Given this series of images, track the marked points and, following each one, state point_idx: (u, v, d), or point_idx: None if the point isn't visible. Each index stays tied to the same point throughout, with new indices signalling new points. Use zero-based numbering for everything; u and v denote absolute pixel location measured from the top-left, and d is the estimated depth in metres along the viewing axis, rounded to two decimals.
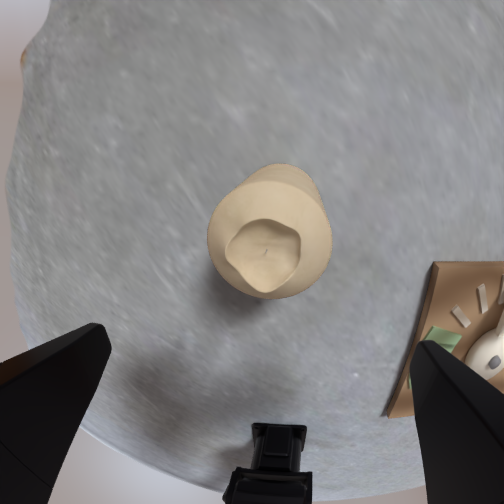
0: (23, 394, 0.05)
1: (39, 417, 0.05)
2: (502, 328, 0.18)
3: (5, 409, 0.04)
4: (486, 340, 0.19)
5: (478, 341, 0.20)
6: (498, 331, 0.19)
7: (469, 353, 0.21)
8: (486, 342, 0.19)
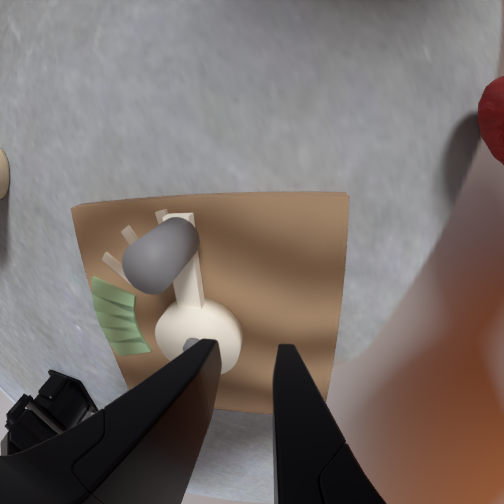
0: (147, 448, 0.04)
1: (165, 469, 0.04)
2: (177, 293, 0.18)
3: (132, 476, 0.03)
4: (167, 309, 0.19)
5: None
6: None
7: None
8: (165, 312, 0.19)
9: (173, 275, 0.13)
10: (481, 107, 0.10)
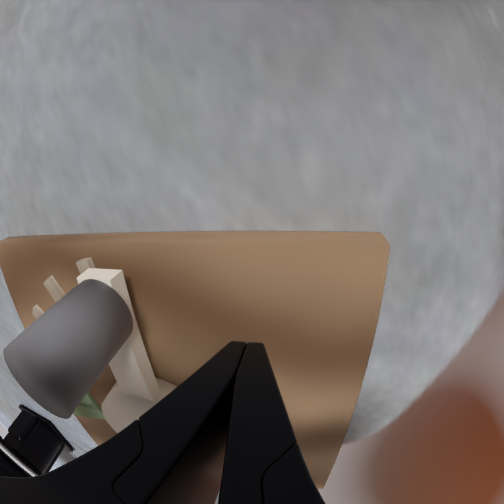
0: (186, 458, 0.04)
1: (203, 478, 0.04)
2: (117, 378, 0.11)
3: (175, 489, 0.03)
4: (112, 389, 0.12)
5: None
6: None
7: None
8: (109, 392, 0.12)
9: (73, 402, 0.06)
10: None
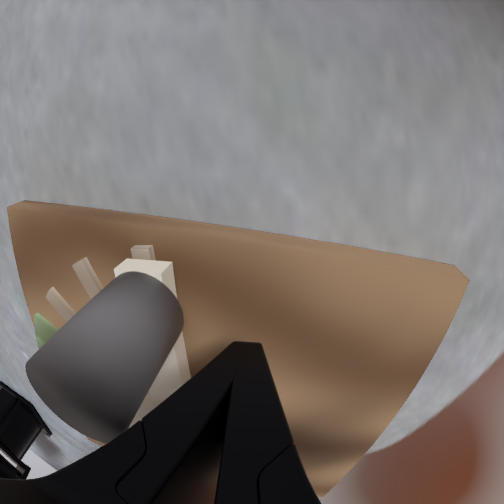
0: (190, 459, 0.04)
1: (206, 479, 0.04)
2: None
3: (178, 490, 0.03)
4: None
5: None
6: None
7: None
8: None
9: (127, 426, 0.05)
10: None
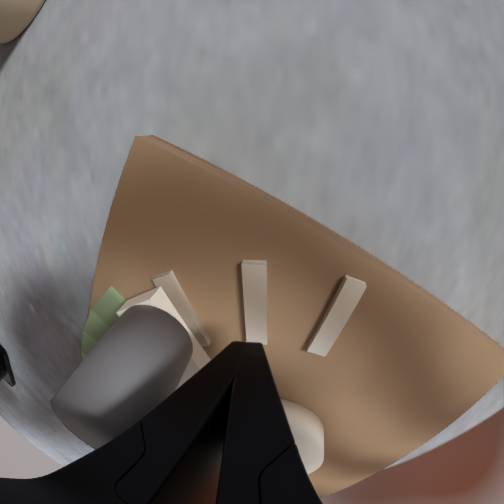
0: (189, 458, 0.04)
1: (205, 478, 0.04)
2: None
3: (177, 490, 0.03)
4: None
5: None
6: None
7: None
8: None
9: None
10: None
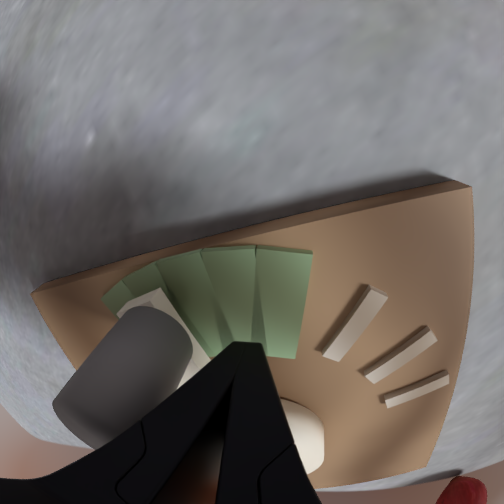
0: (189, 458, 0.04)
1: (205, 479, 0.04)
2: None
3: (178, 490, 0.03)
4: None
5: None
6: None
7: None
8: None
9: None
10: (471, 488, 0.13)
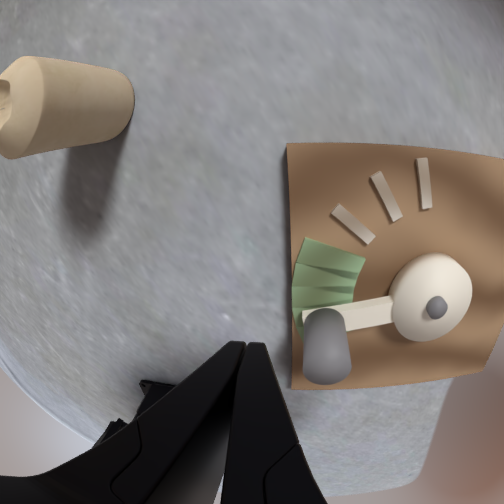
0: (185, 457, 0.04)
1: (201, 478, 0.04)
2: (379, 323, 0.17)
3: (173, 489, 0.03)
4: None
5: None
6: None
7: None
8: None
9: (332, 348, 0.14)
10: None
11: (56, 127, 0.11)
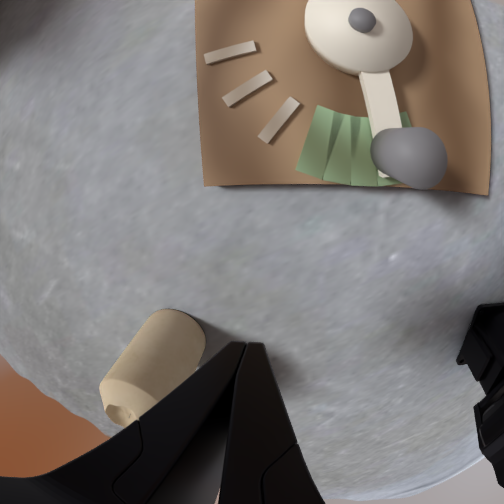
0: (186, 458, 0.04)
1: (203, 478, 0.04)
2: (390, 86, 0.12)
3: (175, 490, 0.03)
4: None
5: None
6: None
7: None
8: None
9: (391, 151, 0.10)
10: None
11: (157, 378, 0.16)
